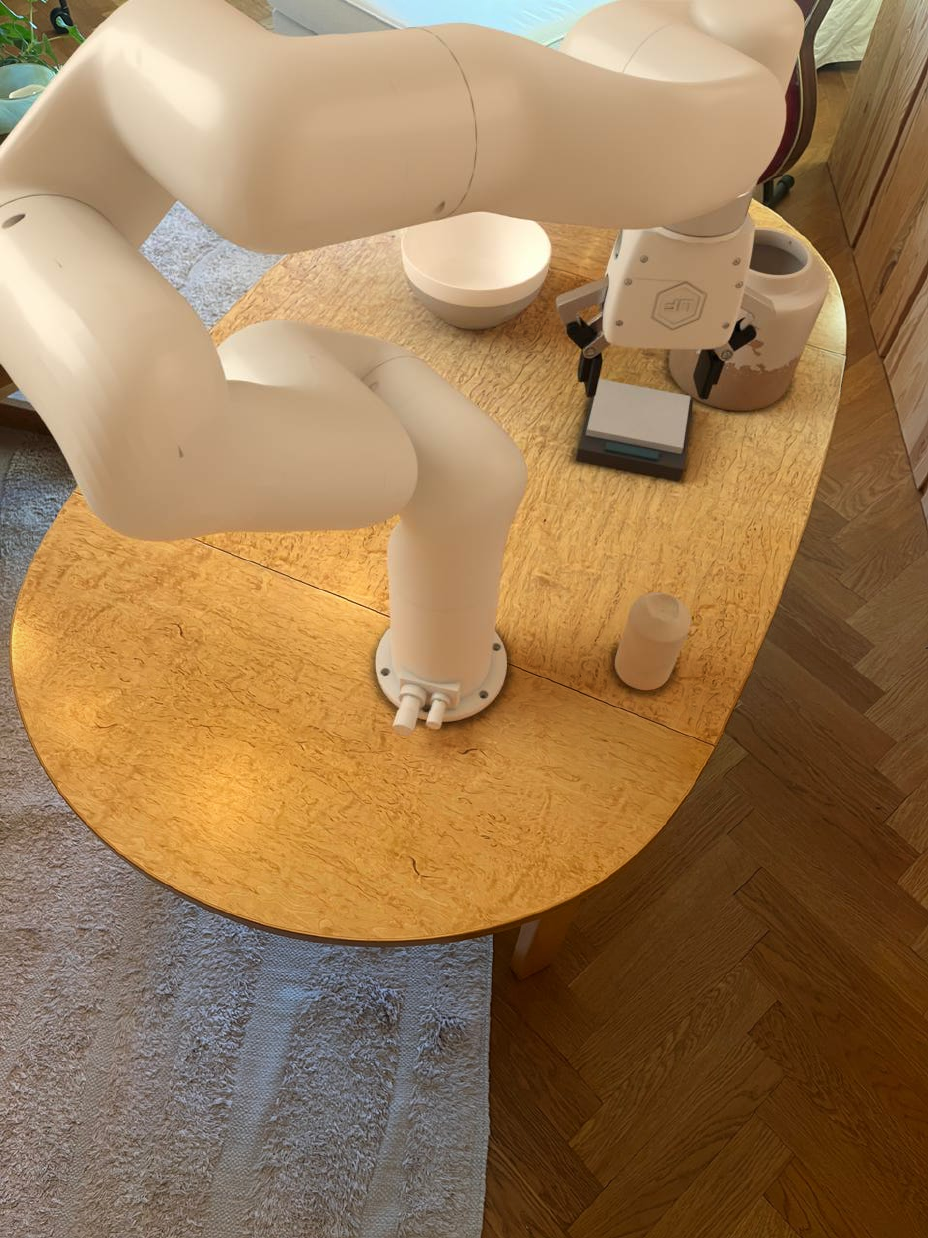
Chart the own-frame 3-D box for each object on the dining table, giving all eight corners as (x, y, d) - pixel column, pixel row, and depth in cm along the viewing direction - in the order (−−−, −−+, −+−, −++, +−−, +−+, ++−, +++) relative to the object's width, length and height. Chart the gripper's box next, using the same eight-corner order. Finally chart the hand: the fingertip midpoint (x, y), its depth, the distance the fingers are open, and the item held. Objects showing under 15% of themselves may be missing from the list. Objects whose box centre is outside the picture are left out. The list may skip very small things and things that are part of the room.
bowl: (498, 369, 114) (503, 309, 107) (373, 314, 120) (370, 254, 112) (569, 292, 124) (578, 233, 117) (450, 245, 129) (452, 186, 122)
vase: (672, 323, 121) (704, 203, 107) (788, 342, 120) (836, 223, 106) (662, 400, 112) (696, 280, 99) (788, 421, 111) (840, 303, 97)
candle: (668, 696, 88) (693, 637, 80) (611, 685, 88) (630, 625, 80) (672, 649, 91) (697, 588, 83) (617, 638, 92) (636, 577, 83)
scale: (679, 481, 104) (685, 462, 102) (575, 460, 106) (579, 441, 103) (689, 411, 111) (695, 392, 109) (591, 393, 113) (595, 373, 110)
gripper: (580, 221, 62) (547, 416, 76) (830, 229, 63) (753, 419, 77) (568, 163, 66) (539, 357, 80) (802, 171, 67) (734, 361, 81)
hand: (644, 387), depth 78 cm, fingers open, 9 cm apart
